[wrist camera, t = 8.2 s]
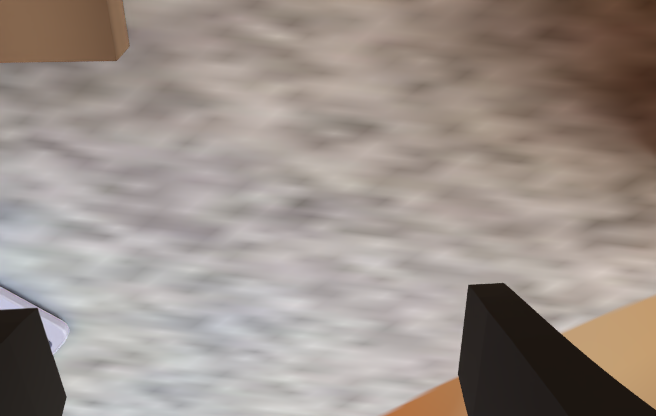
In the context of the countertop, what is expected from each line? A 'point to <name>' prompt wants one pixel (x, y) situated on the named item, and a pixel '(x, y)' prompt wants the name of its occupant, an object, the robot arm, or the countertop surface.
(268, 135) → the countertop surface
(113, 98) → the countertop surface
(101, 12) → the keeper board
